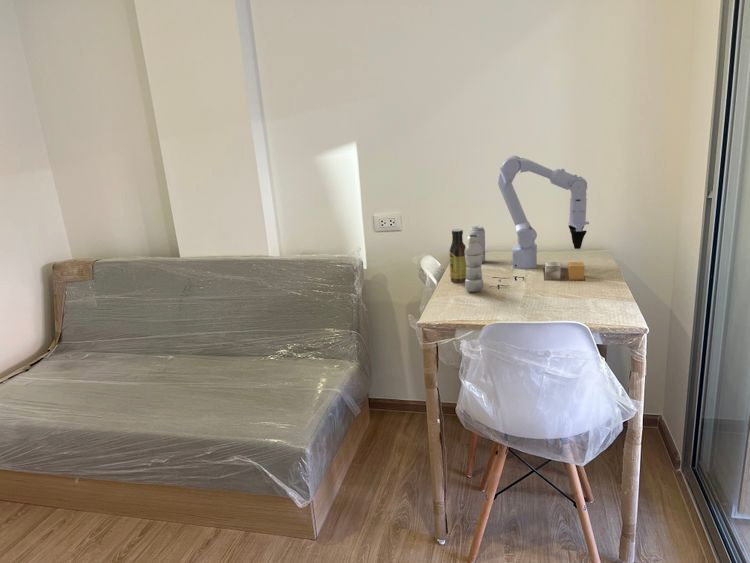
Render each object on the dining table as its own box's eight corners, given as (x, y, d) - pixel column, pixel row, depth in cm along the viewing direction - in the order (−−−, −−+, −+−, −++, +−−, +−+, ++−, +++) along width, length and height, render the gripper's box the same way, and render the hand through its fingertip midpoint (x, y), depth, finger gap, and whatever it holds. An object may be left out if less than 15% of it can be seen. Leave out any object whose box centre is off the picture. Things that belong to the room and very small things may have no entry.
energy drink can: (487, 262, 225) (486, 227, 221) (472, 264, 225) (472, 229, 220) (483, 259, 231) (482, 224, 226) (469, 260, 231) (468, 226, 226)
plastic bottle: (463, 293, 190) (461, 238, 184) (467, 287, 196) (465, 233, 190) (481, 294, 187) (480, 238, 182) (485, 288, 193) (484, 234, 188)
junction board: (544, 283, 194) (544, 267, 192) (543, 270, 209) (543, 255, 207) (585, 283, 190) (586, 267, 189) (581, 270, 205) (582, 255, 203)
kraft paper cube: (568, 279, 193) (569, 266, 191) (568, 275, 198) (568, 262, 196) (583, 279, 192) (584, 266, 190) (582, 275, 196) (583, 262, 195)
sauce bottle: (450, 278, 208) (449, 227, 202) (467, 278, 207) (466, 227, 201) (449, 283, 202) (447, 231, 196) (466, 283, 201) (465, 231, 195)
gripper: (591, 213, 192) (589, 250, 196) (587, 206, 205) (585, 241, 209) (570, 214, 194) (569, 250, 198) (567, 207, 207) (566, 241, 211)
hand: (576, 246), depth 204 cm, fingers open, 7 cm apart
